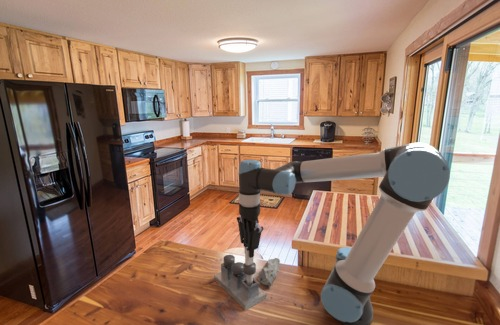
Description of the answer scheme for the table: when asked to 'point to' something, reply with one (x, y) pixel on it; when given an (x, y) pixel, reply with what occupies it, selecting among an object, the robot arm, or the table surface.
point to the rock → (269, 271)
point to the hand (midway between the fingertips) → (249, 263)
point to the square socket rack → (240, 287)
